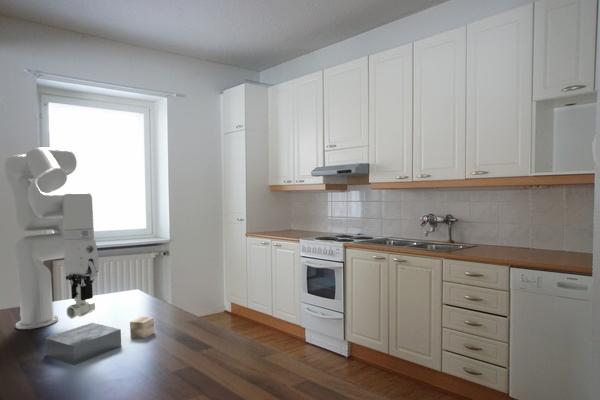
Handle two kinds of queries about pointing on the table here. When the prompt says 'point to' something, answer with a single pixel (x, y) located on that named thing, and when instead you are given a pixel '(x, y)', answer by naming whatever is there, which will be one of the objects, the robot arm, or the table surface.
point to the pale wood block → (142, 327)
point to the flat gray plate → (82, 343)
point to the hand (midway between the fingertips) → (82, 297)
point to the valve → (79, 300)
